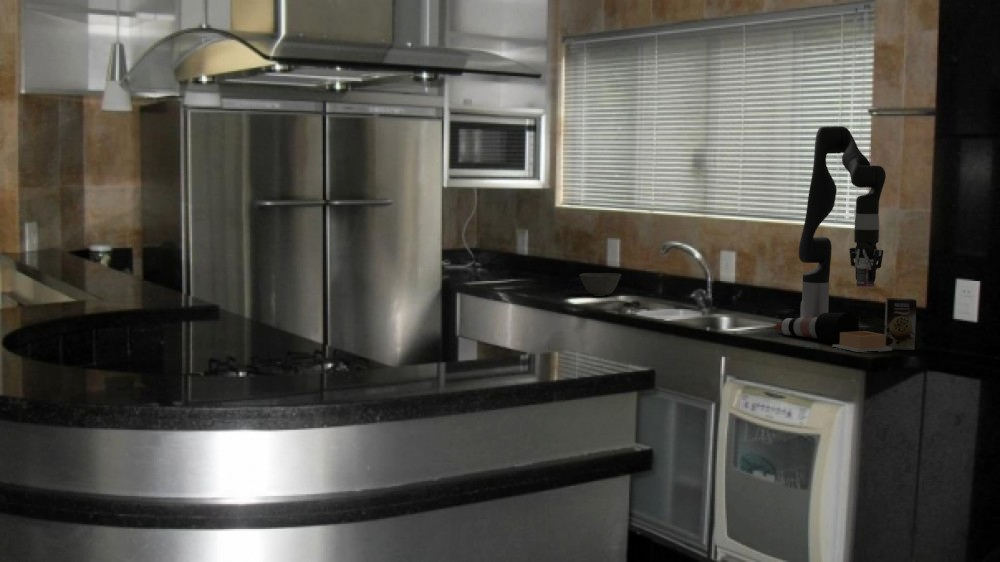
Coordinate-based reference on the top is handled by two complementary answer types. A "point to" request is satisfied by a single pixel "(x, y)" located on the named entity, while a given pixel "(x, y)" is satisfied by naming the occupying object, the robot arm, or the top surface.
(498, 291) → the top surface
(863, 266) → the pill bottle
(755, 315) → the top surface
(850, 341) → the end holder
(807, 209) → the robot arm
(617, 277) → the bowl
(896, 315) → the cookie box
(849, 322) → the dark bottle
